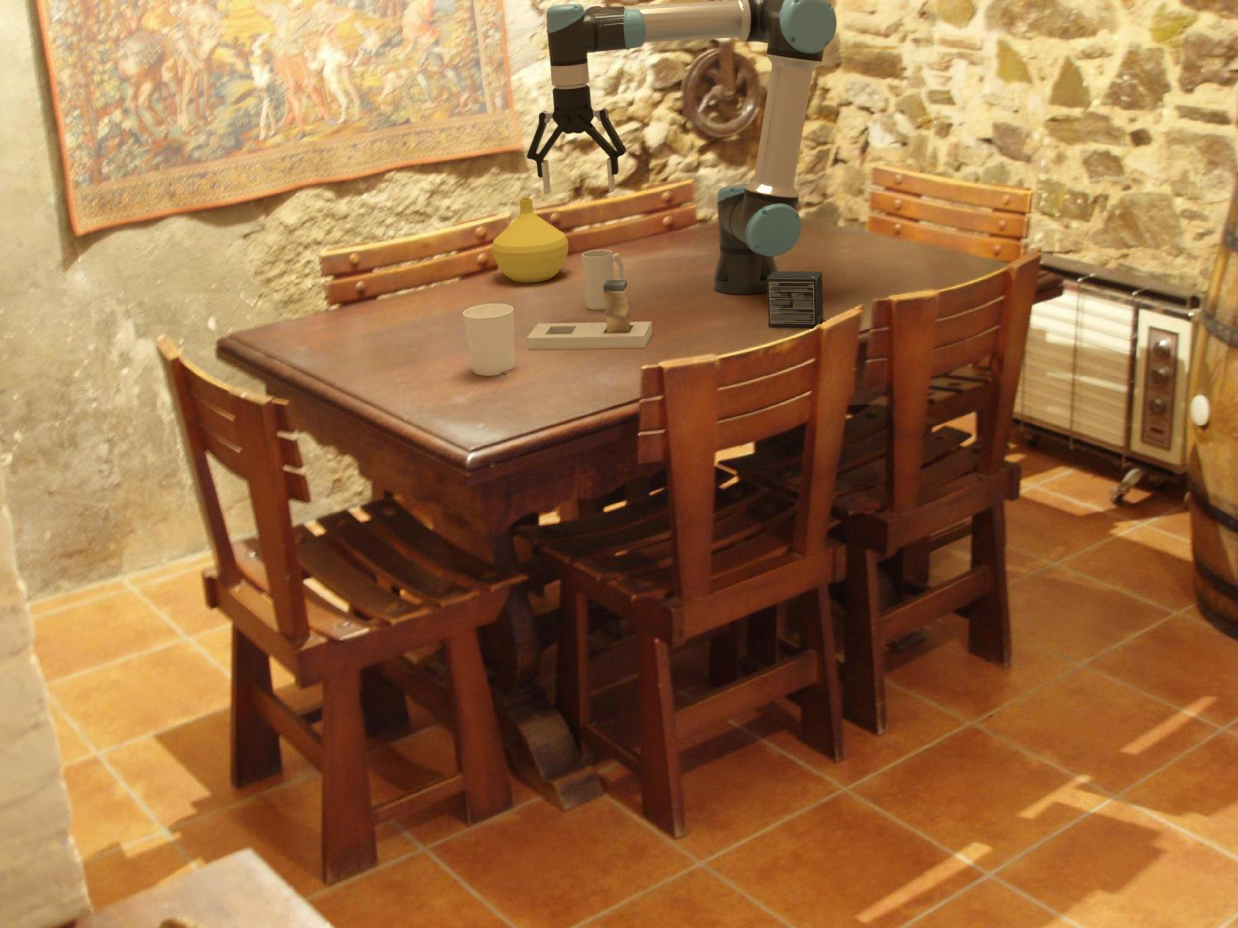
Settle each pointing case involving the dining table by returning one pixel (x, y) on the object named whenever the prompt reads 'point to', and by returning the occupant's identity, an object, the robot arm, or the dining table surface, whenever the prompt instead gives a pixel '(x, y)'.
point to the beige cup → (490, 338)
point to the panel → (587, 336)
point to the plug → (616, 306)
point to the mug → (599, 275)
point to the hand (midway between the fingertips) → (579, 192)
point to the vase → (530, 247)
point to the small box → (795, 299)
